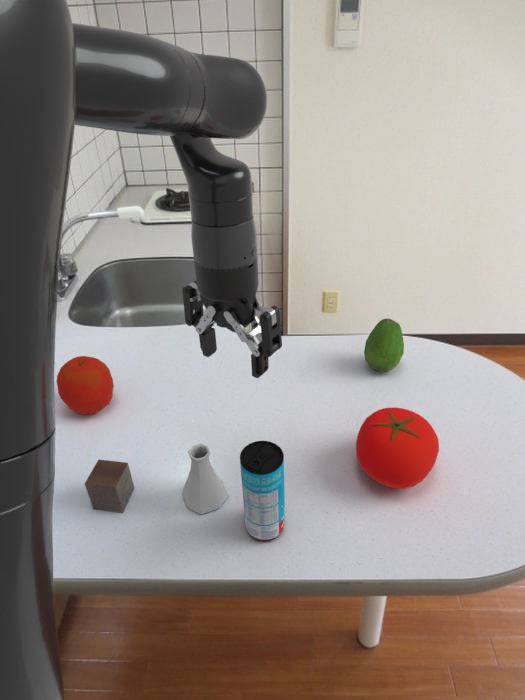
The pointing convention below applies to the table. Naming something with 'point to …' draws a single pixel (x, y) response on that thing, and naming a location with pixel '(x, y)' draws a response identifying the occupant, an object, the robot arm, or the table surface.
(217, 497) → the flask
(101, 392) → the apple
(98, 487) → the walnut block
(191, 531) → the table surface
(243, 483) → the beverage can
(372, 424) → the tomato
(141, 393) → the table surface
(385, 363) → the avocado
